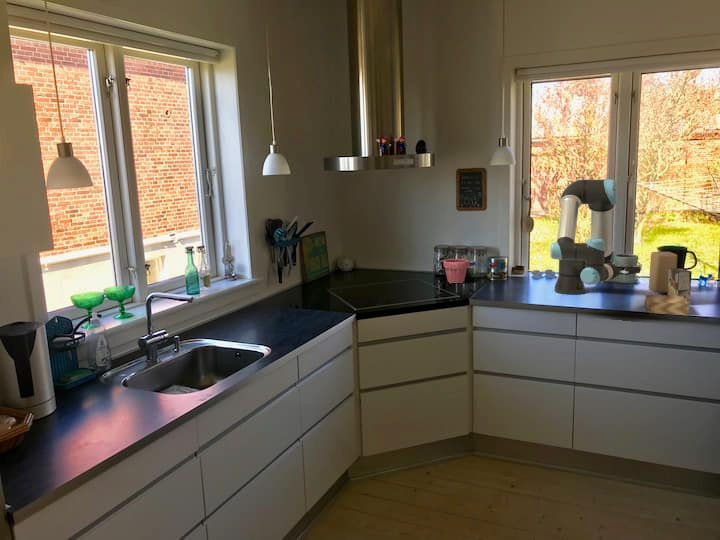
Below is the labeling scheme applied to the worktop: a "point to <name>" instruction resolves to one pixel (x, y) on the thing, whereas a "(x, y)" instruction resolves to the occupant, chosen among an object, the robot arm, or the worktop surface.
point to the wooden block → (661, 270)
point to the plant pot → (455, 270)
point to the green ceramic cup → (626, 261)
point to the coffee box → (679, 283)
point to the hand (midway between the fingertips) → (630, 265)
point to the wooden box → (666, 304)
